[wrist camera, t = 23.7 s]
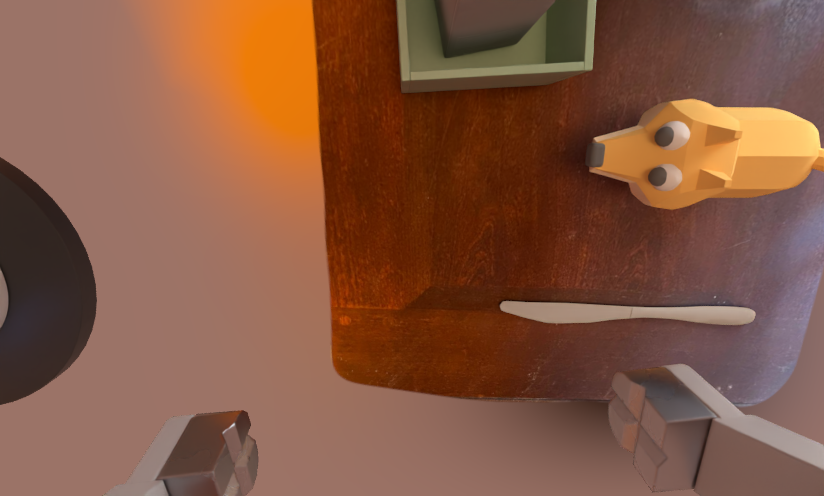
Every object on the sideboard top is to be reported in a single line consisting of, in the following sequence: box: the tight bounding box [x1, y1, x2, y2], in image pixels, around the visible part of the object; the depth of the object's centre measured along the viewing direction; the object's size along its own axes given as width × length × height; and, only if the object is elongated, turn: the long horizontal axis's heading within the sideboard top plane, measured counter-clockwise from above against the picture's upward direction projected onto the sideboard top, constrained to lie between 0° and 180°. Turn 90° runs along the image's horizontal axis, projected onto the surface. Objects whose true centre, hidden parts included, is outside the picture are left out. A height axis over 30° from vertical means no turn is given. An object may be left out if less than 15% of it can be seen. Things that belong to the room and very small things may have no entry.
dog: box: [585, 99, 824, 210], centre depth 32 cm, size 8×20×13 cm, turn 90°
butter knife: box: [500, 301, 755, 325], centre depth 43 cm, size 1×27×3 cm
